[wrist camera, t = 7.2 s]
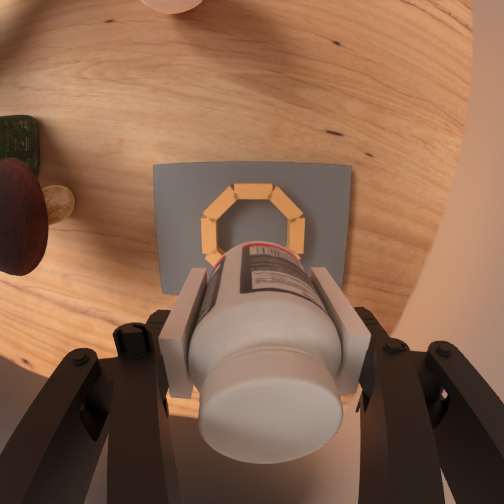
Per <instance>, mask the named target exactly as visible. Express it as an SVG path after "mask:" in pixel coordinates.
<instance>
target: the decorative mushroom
mask: <svg viewBox="0 0 504 504" xmlns="http://www.w3.org/2000/svg"><path fill="white" fill-rule="evenodd" d="M74 205H75V198H74V196H73V193H72V192H71V190H70V189H69V188H67V187H65V186H61V185H51V186H47V187H44V188H41V186H40V184H39V182H38V180H37V178H36V177H35V175H34V174H33V172H32V171H31V169H30V168H29V167H28V166H27V165H26V164H25V163H24V162H22V161H21V160H19V159H17V158H11V157H9V158H3V159H0V271H2V272H4V273H7V274H10V275H16V276H23V275H26V274H28V273H30V272H31V271H33V270H34V269H35V268H36V267H37V266H38V264H39V263H40V262H41V260H42V258H43V256H44V254H45V250H46V246H47V240H48V228H49V227H48V225H52V224H55V223H58V222H60V221H62V220H64V219H66V218H67V217H68V216H69V215H70V214H72V212H73V210H74Z"/></svg>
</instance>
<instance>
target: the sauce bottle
mask: <svg viewBox="0 0 504 504" xmlns="http://www.w3.org/2000/svg"><path fill="white" fill-rule="evenodd" d="M140 1H141V2H142V3H143V4H144V5H146V6H147V7H149V8H151V9H153V10H155V11H157V12H161V13H168V14H175V13H182V12H185V11H188V10H190V9H193V8H194V7H196V6H197V5H198V4H200V3H201V2H202V1H203V0H140Z"/></svg>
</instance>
